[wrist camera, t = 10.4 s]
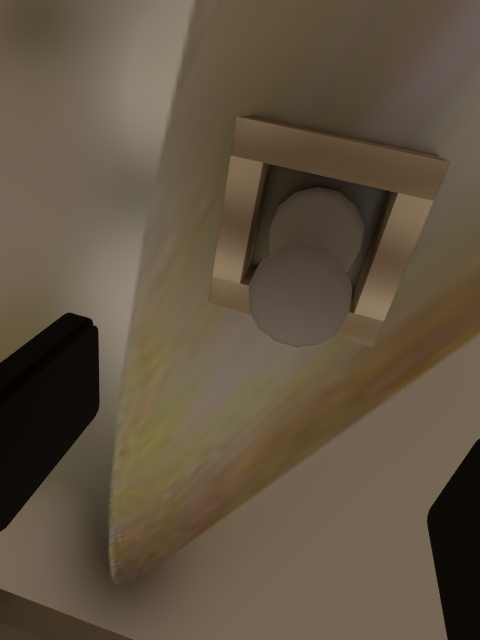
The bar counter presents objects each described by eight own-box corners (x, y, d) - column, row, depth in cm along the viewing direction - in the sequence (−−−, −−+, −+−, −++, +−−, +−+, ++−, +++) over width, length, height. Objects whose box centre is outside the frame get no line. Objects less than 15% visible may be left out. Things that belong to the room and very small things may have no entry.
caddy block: (250, 115, 25) (235, 116, 22) (436, 155, 24) (450, 162, 20) (221, 283, 31) (207, 303, 27) (370, 322, 29) (373, 348, 26)
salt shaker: (375, 192, 25) (397, 260, 14) (347, 275, 28) (347, 386, 17) (285, 172, 26) (238, 221, 15) (267, 255, 29) (216, 348, 18)
